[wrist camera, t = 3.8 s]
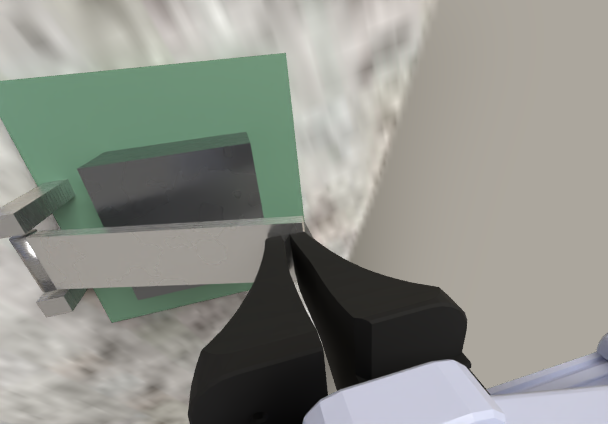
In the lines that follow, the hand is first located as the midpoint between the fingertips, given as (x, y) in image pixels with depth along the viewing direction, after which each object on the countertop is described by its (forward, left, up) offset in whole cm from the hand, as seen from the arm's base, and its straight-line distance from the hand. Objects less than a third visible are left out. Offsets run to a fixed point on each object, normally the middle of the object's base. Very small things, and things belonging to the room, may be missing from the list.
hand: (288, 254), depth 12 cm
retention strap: (-5, 0, -3) cm, 6 cm away
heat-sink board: (-5, 0, -9) cm, 10 cm away
